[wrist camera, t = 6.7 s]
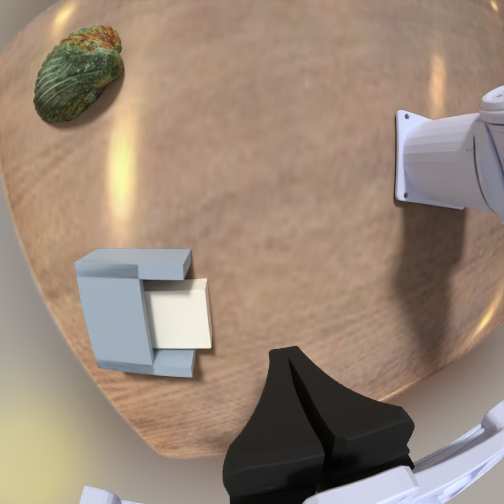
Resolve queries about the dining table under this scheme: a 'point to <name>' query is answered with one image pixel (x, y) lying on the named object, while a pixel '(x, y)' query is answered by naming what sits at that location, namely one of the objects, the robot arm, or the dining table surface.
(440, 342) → the dining table surface
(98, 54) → the seashell
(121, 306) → the bracket
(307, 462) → the robot arm
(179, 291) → the cream rectangular block
